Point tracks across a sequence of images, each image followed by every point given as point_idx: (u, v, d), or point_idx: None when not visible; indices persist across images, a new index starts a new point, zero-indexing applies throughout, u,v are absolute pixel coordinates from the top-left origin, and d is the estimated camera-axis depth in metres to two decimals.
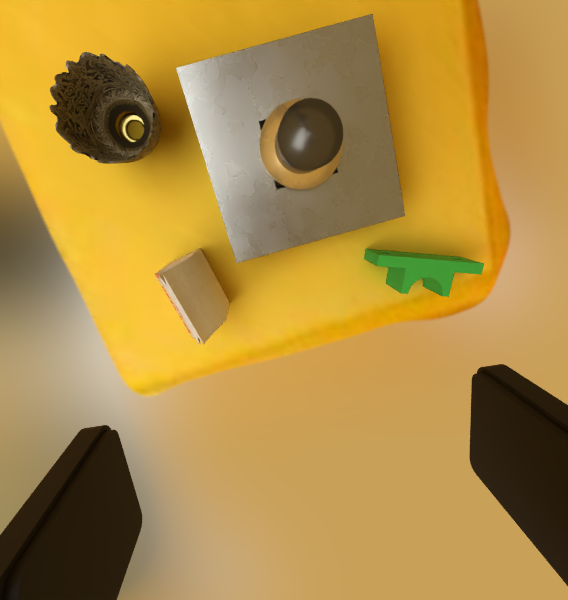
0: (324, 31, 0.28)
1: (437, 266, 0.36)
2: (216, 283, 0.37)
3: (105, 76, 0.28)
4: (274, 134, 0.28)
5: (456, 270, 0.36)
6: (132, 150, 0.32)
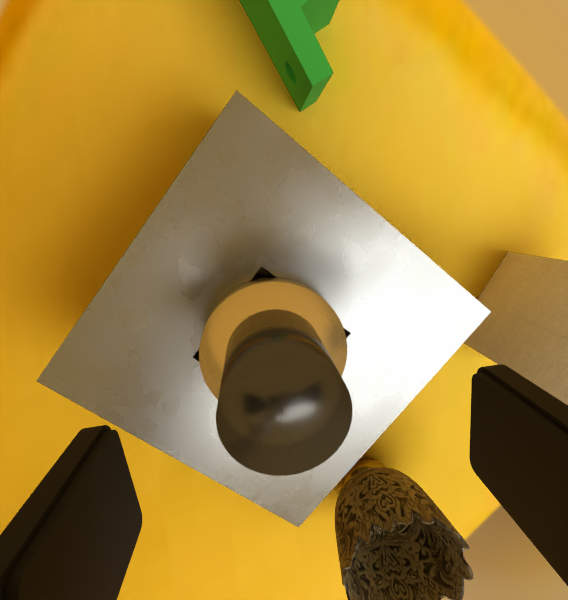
0: (114, 418, 0.17)
1: None
2: (499, 293, 0.23)
3: (353, 560, 0.23)
4: None
5: None
6: None
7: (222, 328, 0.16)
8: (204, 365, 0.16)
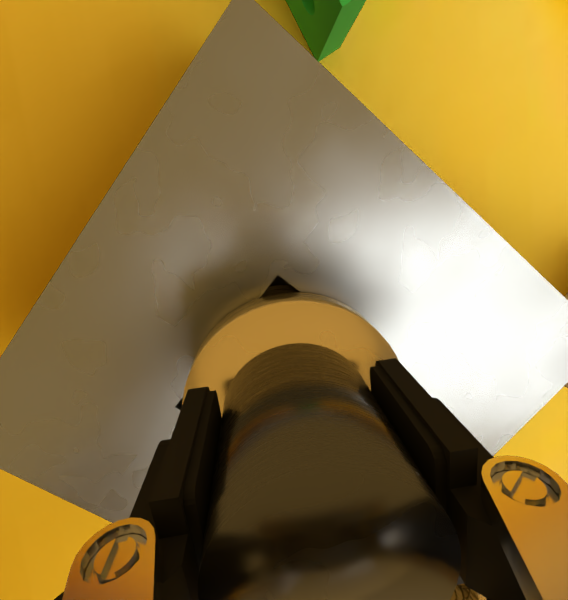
0: (65, 492, 0.12)
1: None
2: None
3: None
4: None
5: None
6: None
7: (217, 372, 0.10)
8: None
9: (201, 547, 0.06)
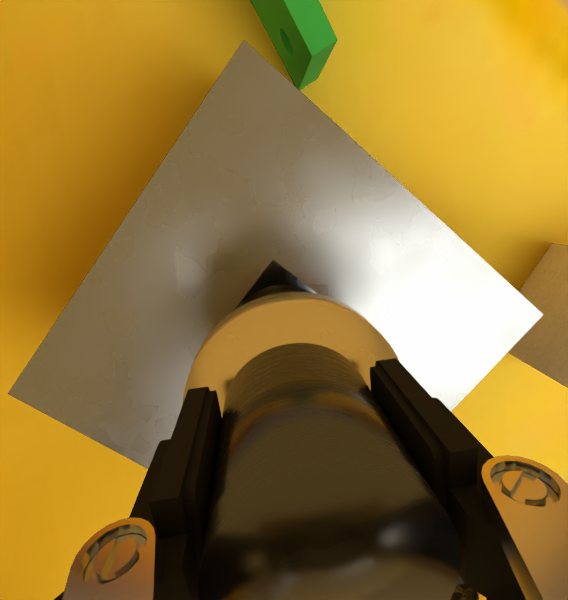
0: (100, 436, 0.15)
1: None
2: (542, 291, 0.20)
3: None
4: None
5: None
6: None
7: (218, 371, 0.10)
8: None
9: (201, 547, 0.06)
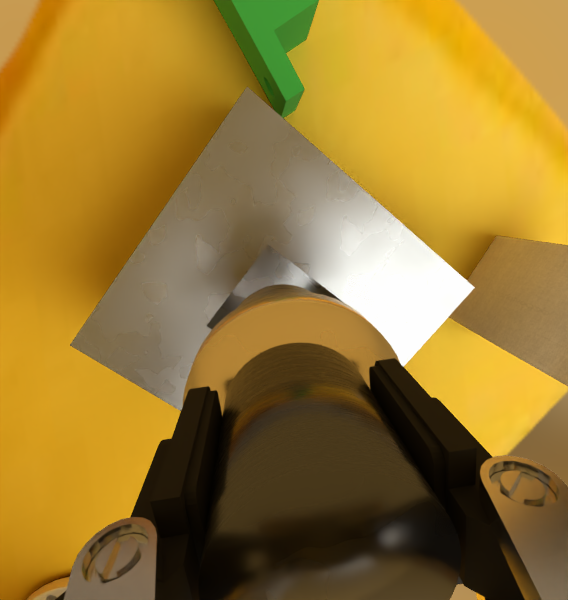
0: (137, 380, 0.20)
1: None
2: (486, 273, 0.25)
3: None
4: None
5: None
6: None
7: (218, 371, 0.10)
8: None
9: (202, 546, 0.06)
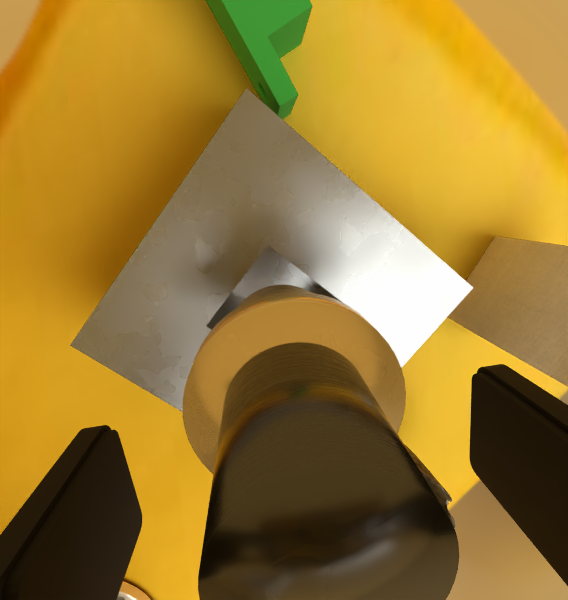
0: (137, 380, 0.20)
1: None
2: (485, 273, 0.25)
3: None
4: None
5: None
6: None
7: (218, 371, 0.10)
8: (191, 424, 0.11)
9: None
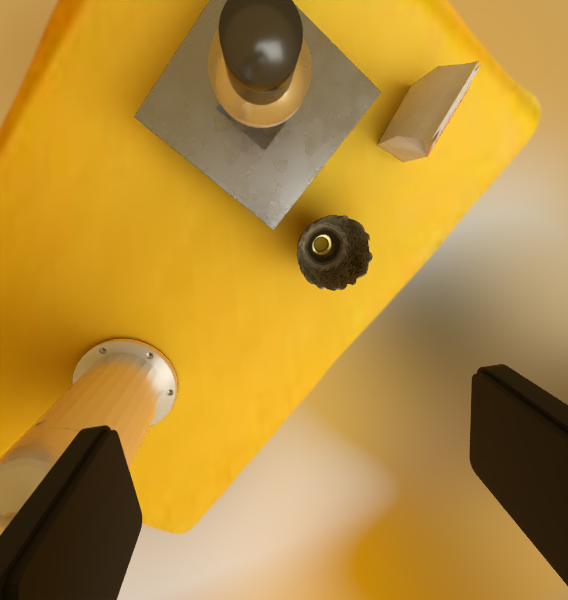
0: (173, 144, 0.32)
1: None
2: (401, 108, 0.37)
3: (307, 271, 0.38)
4: (270, 106, 0.24)
5: None
6: (338, 234, 0.40)
7: None
8: (211, 72, 0.23)
9: None
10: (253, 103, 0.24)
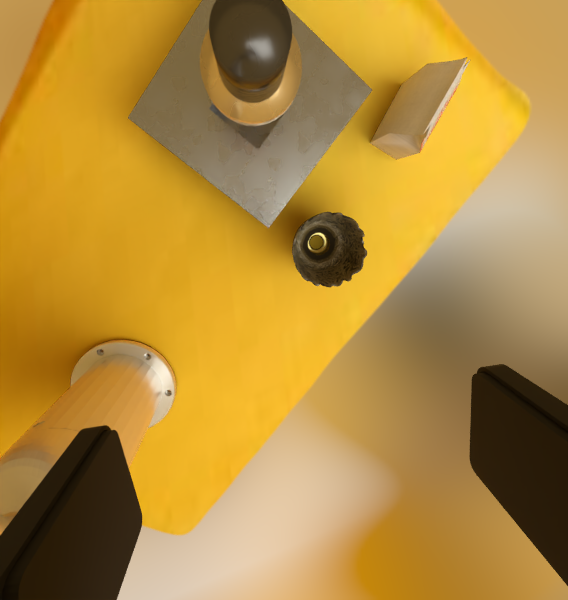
0: (167, 145, 0.33)
1: None
2: (393, 105, 0.38)
3: (303, 268, 0.38)
4: (262, 103, 0.24)
5: None
6: (333, 232, 0.40)
7: None
8: (203, 71, 0.23)
9: None
10: (245, 101, 0.24)
